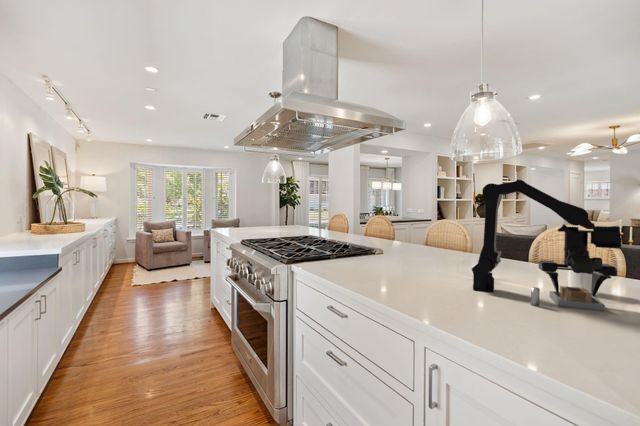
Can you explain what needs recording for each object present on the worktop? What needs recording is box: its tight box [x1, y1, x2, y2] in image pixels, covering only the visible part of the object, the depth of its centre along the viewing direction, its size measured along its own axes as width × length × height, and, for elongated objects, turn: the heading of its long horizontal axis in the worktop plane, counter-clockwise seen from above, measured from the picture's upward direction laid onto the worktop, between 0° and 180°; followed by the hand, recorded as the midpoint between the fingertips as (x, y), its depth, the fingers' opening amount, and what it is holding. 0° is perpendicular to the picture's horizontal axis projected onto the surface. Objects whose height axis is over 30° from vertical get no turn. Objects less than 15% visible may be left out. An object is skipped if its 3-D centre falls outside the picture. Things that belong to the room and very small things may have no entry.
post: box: [530, 286, 541, 307], centre depth 97 cm, size 2×2×6 cm
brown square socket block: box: [559, 285, 592, 303], centre depth 98 cm, size 6×6×4 cm
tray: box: [548, 290, 606, 312], centre depth 98 cm, size 11×11×2 cm
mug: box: [567, 266, 600, 297], centre depth 109 cm, size 12×8×12 cm
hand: (575, 294), depth 98 cm, fingers open, 9 cm apart
